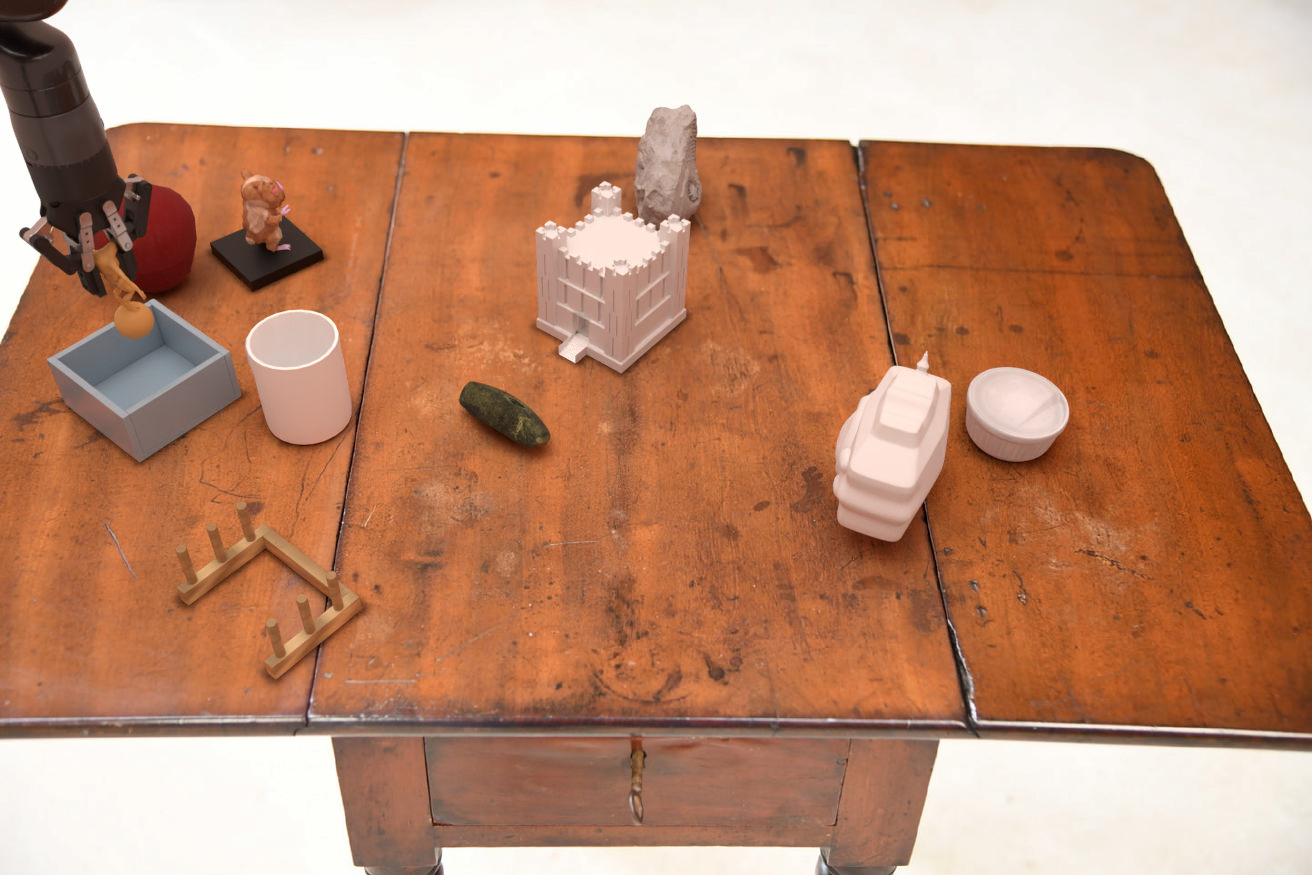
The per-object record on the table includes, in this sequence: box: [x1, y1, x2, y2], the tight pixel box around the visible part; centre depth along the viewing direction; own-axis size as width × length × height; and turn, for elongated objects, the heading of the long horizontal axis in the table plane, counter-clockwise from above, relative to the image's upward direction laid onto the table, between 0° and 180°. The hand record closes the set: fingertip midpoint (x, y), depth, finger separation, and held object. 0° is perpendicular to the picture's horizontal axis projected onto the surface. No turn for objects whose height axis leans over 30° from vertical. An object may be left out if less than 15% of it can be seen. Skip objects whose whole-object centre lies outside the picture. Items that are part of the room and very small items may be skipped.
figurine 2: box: [209, 167, 325, 292], centre depth 156 cm, size 10×10×12 cm
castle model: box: [534, 180, 692, 374], centre depth 148 cm, size 13×15×14 cm
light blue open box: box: [46, 298, 243, 463], centre depth 139 cm, size 14×14×7 cm
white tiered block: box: [832, 350, 952, 543], centre depth 130 cm, size 11×18×16 cm, turn 158°
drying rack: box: [174, 501, 363, 680], centre depth 121 cm, size 11×14×7 cm
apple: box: [93, 183, 198, 294], centre depth 151 cm, size 12×12×13 cm
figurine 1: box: [93, 242, 154, 339], centre depth 131 cm, size 8×6×12 cm
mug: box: [244, 309, 353, 446], centre depth 137 cm, size 10×12×12 cm
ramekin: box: [965, 366, 1070, 463], centre depth 141 cm, size 11×11×5 cm
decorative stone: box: [458, 380, 551, 448], centre depth 139 cm, size 11×8×5 cm
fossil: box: [633, 103, 703, 231], centre depth 165 cm, size 16×9×15 cm, turn 172°
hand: (113, 284), depth 130 cm, fingers closed on figurine 1, 3 cm apart
